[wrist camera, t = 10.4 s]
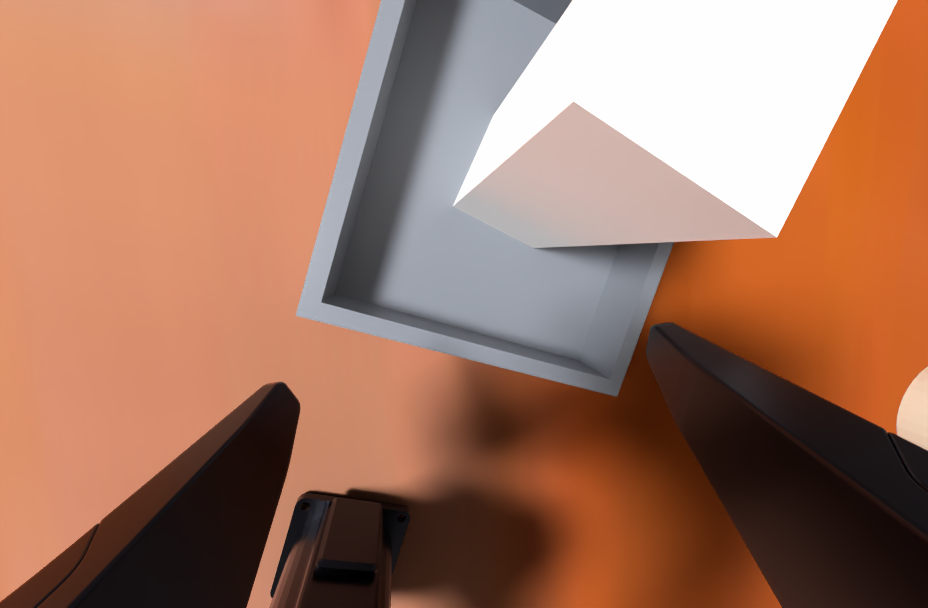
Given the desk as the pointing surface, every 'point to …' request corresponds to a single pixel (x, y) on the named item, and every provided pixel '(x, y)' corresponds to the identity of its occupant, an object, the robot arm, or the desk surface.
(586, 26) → the cream block
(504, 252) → the tray
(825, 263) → the desk surface
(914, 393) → the reusable coffee cup
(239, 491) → the robot arm
